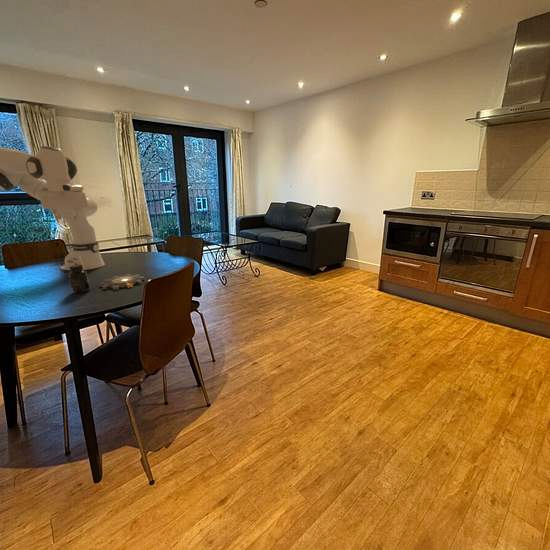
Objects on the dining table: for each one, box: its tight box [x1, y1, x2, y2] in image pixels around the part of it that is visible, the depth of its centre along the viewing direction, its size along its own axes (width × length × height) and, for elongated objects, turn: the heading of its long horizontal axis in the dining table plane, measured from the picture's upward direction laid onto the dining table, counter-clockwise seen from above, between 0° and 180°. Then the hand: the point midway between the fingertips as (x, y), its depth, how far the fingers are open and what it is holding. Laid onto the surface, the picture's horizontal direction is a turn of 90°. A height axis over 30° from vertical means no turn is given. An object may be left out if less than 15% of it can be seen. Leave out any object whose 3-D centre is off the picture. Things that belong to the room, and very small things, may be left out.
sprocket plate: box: [99, 273, 145, 291], centre depth 143 cm, size 19×19×2 cm
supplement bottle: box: [68, 265, 91, 294], centre depth 132 cm, size 7×7×12 cm
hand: (67, 219), depth 133 cm, fingers open, 8 cm apart
